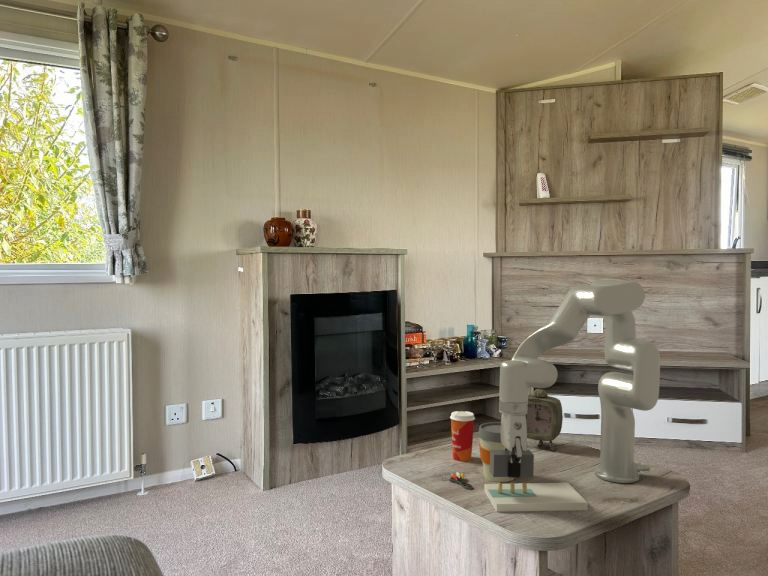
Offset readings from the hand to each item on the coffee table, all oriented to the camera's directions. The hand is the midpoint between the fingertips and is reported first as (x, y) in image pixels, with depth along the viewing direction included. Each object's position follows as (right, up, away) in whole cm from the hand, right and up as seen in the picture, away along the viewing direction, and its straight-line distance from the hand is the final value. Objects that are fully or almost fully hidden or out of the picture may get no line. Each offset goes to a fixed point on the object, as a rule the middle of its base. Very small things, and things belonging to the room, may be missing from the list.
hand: (511, 473), depth 158 cm
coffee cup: (-9, -7, +35) cm, 37 cm away
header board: (+6, -8, +1) cm, 10 cm away
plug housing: (0, 0, 0) cm, 0 cm away
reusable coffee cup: (0, -7, +18) cm, 20 cm away
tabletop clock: (+21, -6, +49) cm, 53 cm away
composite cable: (-12, -8, +13) cm, 19 cm away
